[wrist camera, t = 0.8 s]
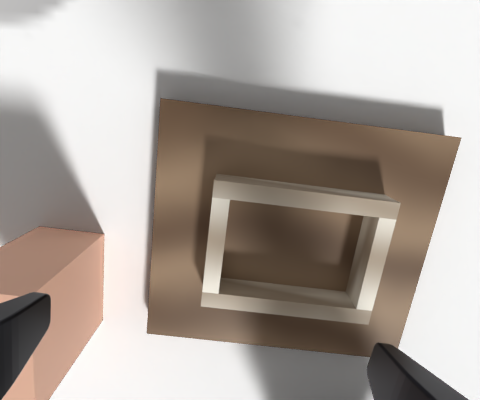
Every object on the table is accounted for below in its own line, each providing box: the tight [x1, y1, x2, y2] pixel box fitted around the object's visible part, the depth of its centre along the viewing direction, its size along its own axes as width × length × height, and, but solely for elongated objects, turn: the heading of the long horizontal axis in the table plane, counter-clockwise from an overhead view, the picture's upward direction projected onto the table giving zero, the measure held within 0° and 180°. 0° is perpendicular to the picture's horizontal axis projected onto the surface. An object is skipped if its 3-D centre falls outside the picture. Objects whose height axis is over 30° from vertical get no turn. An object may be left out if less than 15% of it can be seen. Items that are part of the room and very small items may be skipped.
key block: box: [0, 226, 104, 400], centre depth 19 cm, size 7×4×8 cm, turn 173°
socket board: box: [147, 98, 461, 357], centre depth 20 cm, size 16×18×4 cm
